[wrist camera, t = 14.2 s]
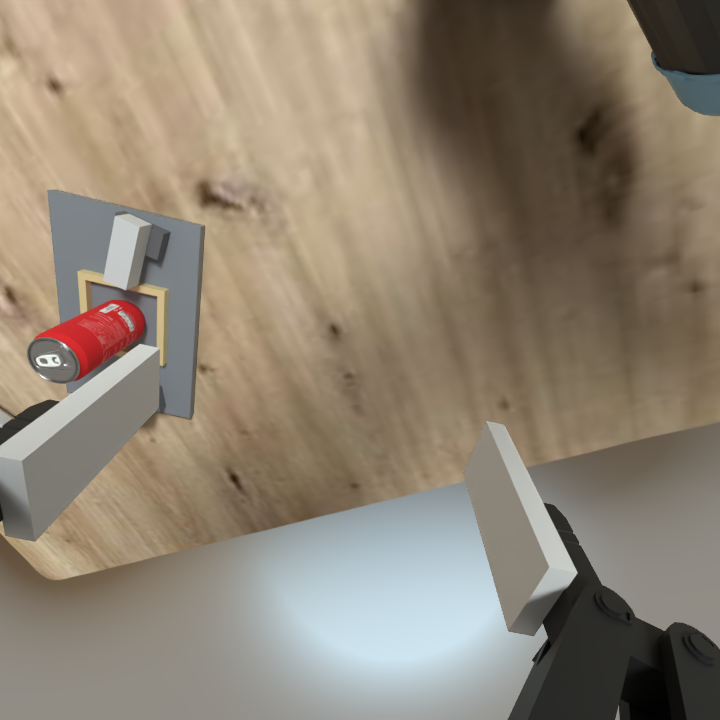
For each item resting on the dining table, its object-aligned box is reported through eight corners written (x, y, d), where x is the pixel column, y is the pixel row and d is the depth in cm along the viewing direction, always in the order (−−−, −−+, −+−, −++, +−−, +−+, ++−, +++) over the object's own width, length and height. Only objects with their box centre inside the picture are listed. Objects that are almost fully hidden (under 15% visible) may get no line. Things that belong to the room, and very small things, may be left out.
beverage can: (154, 336, 49) (90, 384, 38) (113, 339, 49) (38, 387, 38) (141, 295, 46) (68, 333, 36) (98, 298, 47) (14, 336, 36)
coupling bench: (55, 189, 43) (16, 192, 38) (205, 225, 44) (184, 232, 39) (73, 388, 54) (44, 408, 49) (193, 413, 55) (176, 436, 50)
